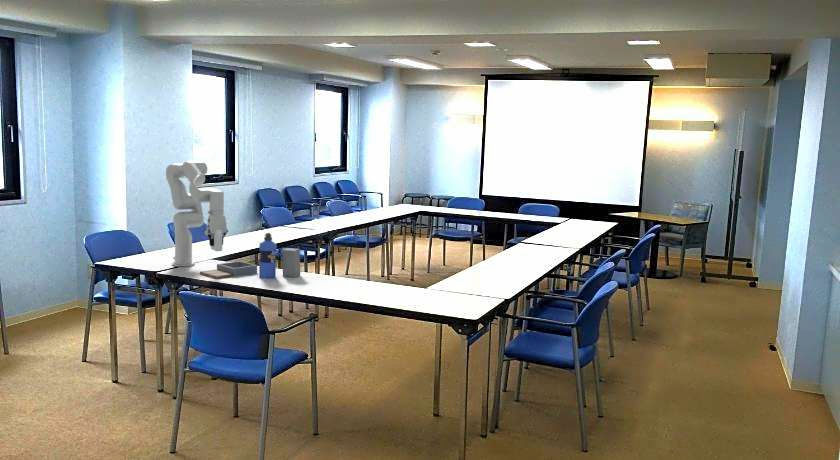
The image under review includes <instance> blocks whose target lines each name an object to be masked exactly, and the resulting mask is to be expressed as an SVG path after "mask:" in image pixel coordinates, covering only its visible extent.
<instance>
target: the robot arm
mask: <svg viewBox="0 0 840 460" xmlns="http://www.w3.org/2000/svg"><path fill="white" fill-rule="evenodd" d="M207 173H208V166H207V164H206V163H205V161H202V160H187V161H184V162H183V163H181V162H180V163H179V162H178V163H171V164H169V165H168V166H167V167H166V168H165V178H166V181H167V183H168V185H169V188H170V194H171V195H170V196H171V199H172V204H173V208H174V209H175V210H177V211H179V212H177V213H175V214H174V215H173V216H172V217H173V218H172V221H173V222H172V223H173V225H174V226H173V227H174V257H173V260H174V261H173V262H172V263H171V264H172V266H174V267H192V266H195V265H196V263H195V261H193V235H192V232H191V230H189V228H200V227H202V226H203V224H204V221H205V220H204V219H205V218H204V211H203V206H202V203H203V204H204V203H209V209H208V211H207V214H209V215H208V217H207V222H206V229H205V231H204V232H203V234H204V235H205V236H207V238H208V239H209V240H208V241H209V246H210V247H211V246H214V239H213V237H214V234H215V232H216V230H219V229H220V230H221V231H222V246H223V245H224V238H225V236H226V235H227V234H228V232H229V230H228V228H227V227H228V226H227V217H226V214H225V215H224V213H225V212H224V211H225V209H224V208H225V205H224V203H225V201H224V199H225V195H224V194H225V193H224V191H223V190H219V189H215V188H199V187H201V186H202V185H203V184H205V181H206V177H205V176H206V174H207ZM181 179H187V180H188V181H189V185H188V189H189V191H188V192H189V193H187V189H186V185H185V183H184V182H183V180H181ZM185 210H186V211H185ZM187 210H188V211H187ZM189 210H190V211H189Z"/></svg>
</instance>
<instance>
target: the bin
mask: <svg viewBox="0 0 840 460" xmlns="http://www.w3.org/2000/svg"><path fill="white" fill-rule="evenodd" d="M216 270H219V271H223V272H226V273H230V274H232V277H239V276H246V275H251V274H252V275H253V274H257V273H258V265H257V264H253V263H250V262H245V261H241V260H238V261H237V260H236V261H229V262H223V263H222V262H221V263H216Z"/></svg>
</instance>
